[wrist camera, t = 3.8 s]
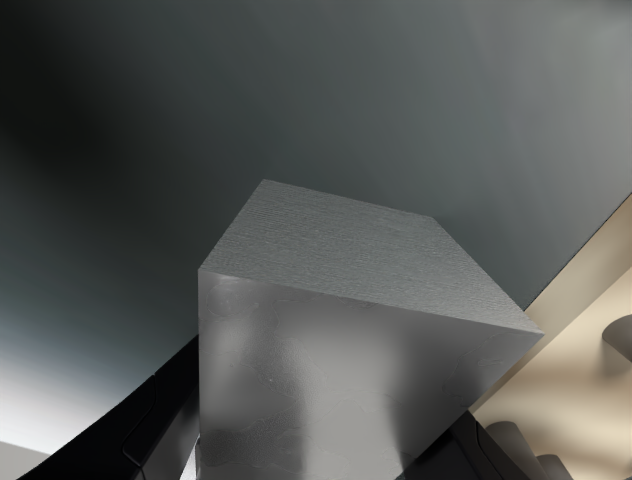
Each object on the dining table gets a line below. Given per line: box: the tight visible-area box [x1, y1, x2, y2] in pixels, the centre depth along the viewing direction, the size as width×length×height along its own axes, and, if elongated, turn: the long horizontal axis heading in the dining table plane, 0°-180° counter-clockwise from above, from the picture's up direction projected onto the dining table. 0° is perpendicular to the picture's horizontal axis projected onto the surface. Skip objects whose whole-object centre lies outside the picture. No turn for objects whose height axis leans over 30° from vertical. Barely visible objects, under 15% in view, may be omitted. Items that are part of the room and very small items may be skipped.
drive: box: [198, 179, 545, 480], centre depth 9 cm, size 10×6×5 cm, turn 167°
